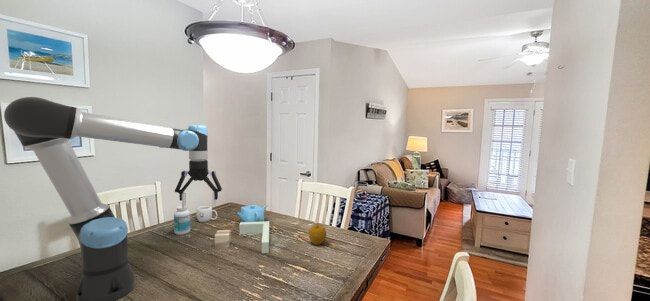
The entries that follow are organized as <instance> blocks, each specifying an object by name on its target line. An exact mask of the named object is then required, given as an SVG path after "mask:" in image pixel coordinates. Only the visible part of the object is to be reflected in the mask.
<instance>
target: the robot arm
mask: <svg viewBox="0 0 650 301" xmlns="http://www.w3.org/2000/svg"><path fill="white" fill-rule="evenodd" d="M3 112H4V113H3V118H4V122H5V123H6V125H7V126H8V127H9V129H11V130H12V131H13V132H14V134H15V135H16V137H17V139H18V140H19V142H20V143H21V145H22V148H25V149H29V150H31V151H33V152H34V155H35V156H36V157H37V159H38V161H39V162H40V164H41V166H42V168H43V170H44V171H45V173H46V175H47V176H48V178H49V180H50V183H51V184H52V185H53V187H54V189H55V190H56V192H57V193H58V196H59V197H60V199H61V201H62V203H63V204H64V206H65V207H66V209H67V211H68V213H69V215H70V217H69V219H68V221H67V224H68V225H69V227H70V228H71V230H72V232H73V234H74V235H75V236H76V239H77V240H78V244H79V247H80V252H81V269H82V274H81V275H82V276H81V279H80V281H79V283H78V288H77V290H76V293H75V301H116V300H119V299H121V298H122V297H124V296H126V295H128V294H129V293H130V292H132V290H134V289H135V287H136V276H135V274H134V272H133V270H132V268H131V267H130V264H129V248H128V246H129V245H128V244H129V242H128V230H129V229H128V226H127V222H126V221H125V220H124V219H122V218H121V217H116V216H115V215H114V213H113V210H112V209H111V207H110V205H109V204H106V203H103V202H102V201H101V200H100V197H99V196H98V194H97V192H96V190H95V188H94V186H93V184H92V182H91V180H90V179H89V176H88V175H87V173H86V171H85V169H84V167H83V165H82V163H81V161H80V160H79V158H78V156H77V154H76V152H75V150H74V148H73V147H72V144H71V143H70V140H73V139H74V138H77V137H79V138H86V139H87V138H88V139H96V140H100V141H101V140H102V141H103V140H104V141H109V142H118V143H126V144H127V143H128V144H135V145H142V146H151V147H159V148H161V149H163V148H164V149H173V150H181V151H183V152H188V160H189V162H188V166H189V168H188V169H189V170H188V171H187V170H182V171H181V172H180V177H179V181H178V183H177V185H176V187H175V189H174V193H178V194H179V201H181V206H182V208H185V207H186V206H187V201H186V199H187V198H186V192H185V190H186V189H188V187H189V186H190V185H191V184H192V182H193V181H194V182H196V181H199V182H200V181H201V182H202V181H204V183H206V185H207V186H208V188H210V189H211V190H212V191H213V192H212V200H211V201H212V208H215V207H216V201H217V200H218V199H219V192H221V191H223V187H222V186H221V184H220V181H219V180H218V178H217V173H216V170H209V163H208V155H209V154H208V153H209V152H208V136H209V135H208V127H207V126H206V125H199V124H198V125H196V124H195V125H193V124H189V125H188V128H187V129H179V128H175V127H174V128H173V127H168V126H162V125H157V124H156V125H155V124H151V123H147V122H146V123H145V122H140V121H135V120H130V119H123V118H118V117H111V116H106V115H102V114H101V115H100V114H95V113H92V112H91V113H90V112H84V111H81V110H80V109H79V108H78V107H76V106H69V105H65V104H62V103H59V102H54V101H52V100H50V99H49V100H48V99H46V98H42V97H37V96H36V97H35V96H26V97H20V98H18V99H15V100H13V101H11V102H10V103H9V104H8V105H7V106H6V107H5V110H4V111H3ZM209 175H210V177H211V178H212V181H213V182H214V183H213V182H212V181H211V180H210V178H209ZM187 176H189V177H190V178H188V180H187V182H186V183H185V184H184V185H183V183H184V181H185V179H186V177H187ZM214 184H215V185H214Z"/></svg>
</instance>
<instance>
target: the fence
mask: <svg viewBox="0 0 650 301" xmlns="http://www.w3.org/2000/svg"><path fill="white" fill-rule="evenodd" d="M238 226H239V235H244V234H245V235H246V234H262V236H261V254H269V253H270V252H269V249H270V221H269V220H268V221H265V220H264V222H241V221H240V223H239V225H238Z"/></svg>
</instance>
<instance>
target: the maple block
mask: <svg viewBox="0 0 650 301" xmlns="http://www.w3.org/2000/svg"><path fill="white" fill-rule="evenodd" d="M231 232H232V231H231V229H223V230H222V229H221V230H217V231H216V233H215V235H214V249H224V248H230V245H231V242H232V241H231V240H232V239H231V236H232V234H231Z"/></svg>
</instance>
